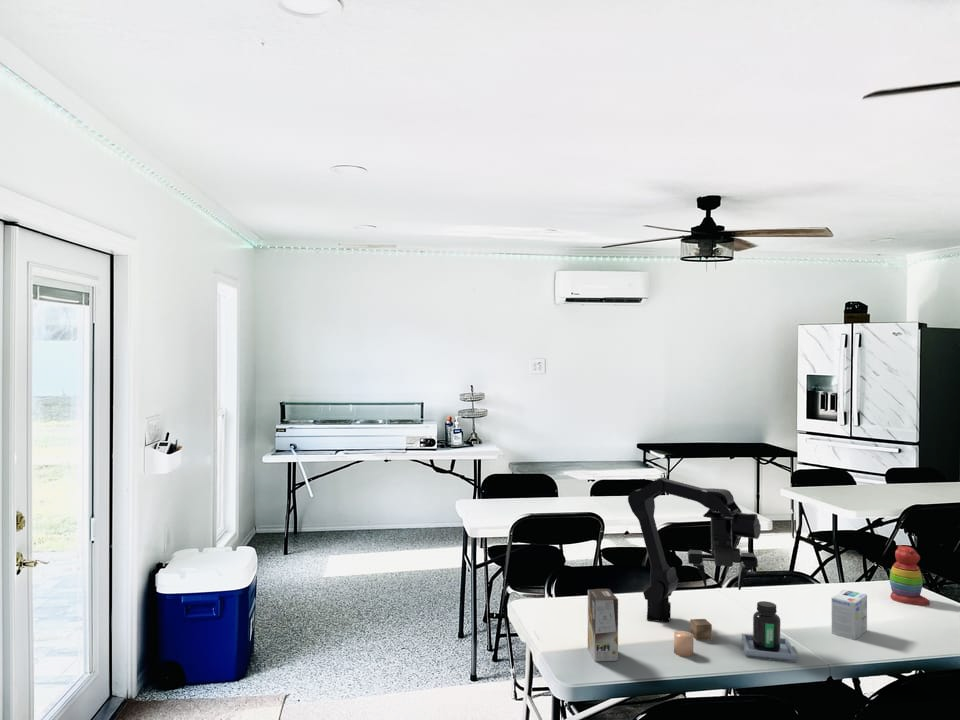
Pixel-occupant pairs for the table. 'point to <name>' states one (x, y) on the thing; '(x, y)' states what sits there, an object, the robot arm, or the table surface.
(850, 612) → the light bulb box
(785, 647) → the tray
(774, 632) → the supplement bottle
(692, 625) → the walnut block
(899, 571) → the stacking bear
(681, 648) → the cylinder block
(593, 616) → the coffee box
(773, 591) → the table surface
